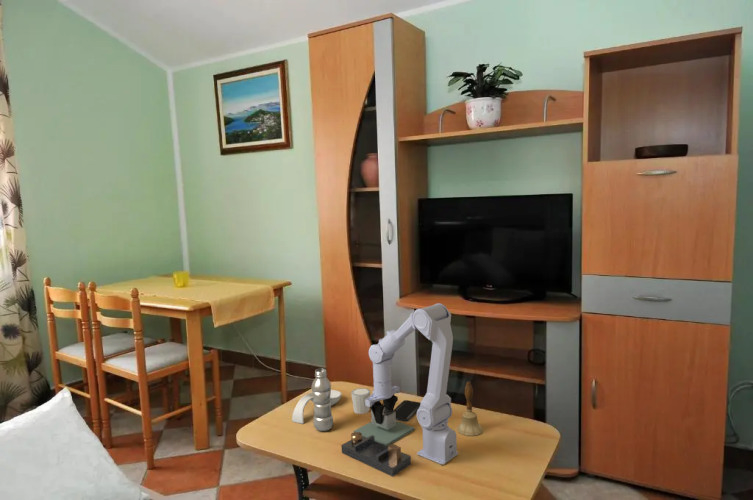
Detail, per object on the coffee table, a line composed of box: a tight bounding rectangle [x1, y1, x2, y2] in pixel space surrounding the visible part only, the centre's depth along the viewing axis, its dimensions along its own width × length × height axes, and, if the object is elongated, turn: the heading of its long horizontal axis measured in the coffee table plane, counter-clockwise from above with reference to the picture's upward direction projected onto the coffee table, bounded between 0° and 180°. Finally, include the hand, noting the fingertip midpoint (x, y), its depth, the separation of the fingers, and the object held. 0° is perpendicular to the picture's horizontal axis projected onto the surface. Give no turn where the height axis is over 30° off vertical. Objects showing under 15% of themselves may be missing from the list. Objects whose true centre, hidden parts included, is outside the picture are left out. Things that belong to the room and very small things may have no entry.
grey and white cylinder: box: [350, 388, 371, 415], centre depth 177 cm, size 7×7×7 cm
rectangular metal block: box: [370, 408, 397, 430], centre depth 160 cm, size 7×4×4 cm, turn 47°
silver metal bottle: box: [310, 368, 334, 432], centre depth 163 cm, size 6×7×20 cm
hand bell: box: [456, 381, 484, 437], centre depth 159 cm, size 8×8×16 cm
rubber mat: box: [353, 420, 416, 447], centre depth 161 cm, size 14×14×1 cm
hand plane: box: [341, 431, 412, 478], centre depth 144 cm, size 20×8×6 cm, turn 48°
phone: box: [393, 399, 421, 423], centre depth 175 cm, size 8×1×15 cm
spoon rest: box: [291, 389, 343, 425], centre depth 179 cm, size 24×12×7 cm, turn 153°
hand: (383, 420), depth 160 cm, fingers closed on rectangular metal block, 4 cm apart
